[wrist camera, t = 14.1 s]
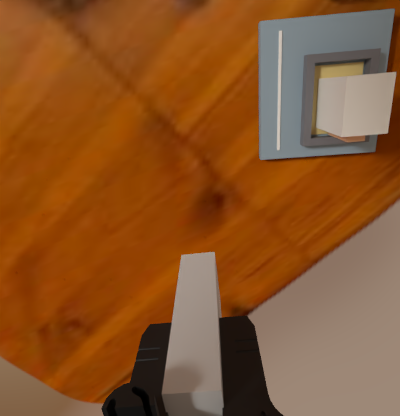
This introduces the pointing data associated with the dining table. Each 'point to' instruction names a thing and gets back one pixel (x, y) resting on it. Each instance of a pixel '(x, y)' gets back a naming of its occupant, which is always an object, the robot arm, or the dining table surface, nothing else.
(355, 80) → the plug
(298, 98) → the board
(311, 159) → the dining table surface
